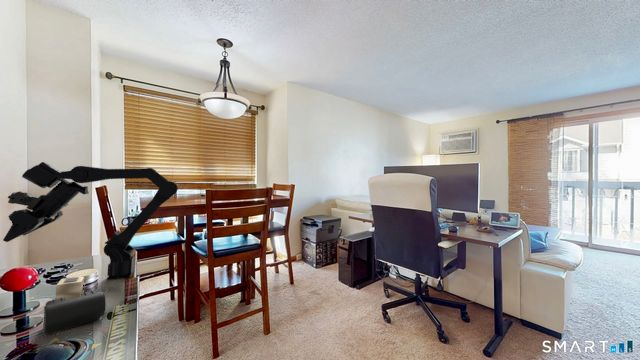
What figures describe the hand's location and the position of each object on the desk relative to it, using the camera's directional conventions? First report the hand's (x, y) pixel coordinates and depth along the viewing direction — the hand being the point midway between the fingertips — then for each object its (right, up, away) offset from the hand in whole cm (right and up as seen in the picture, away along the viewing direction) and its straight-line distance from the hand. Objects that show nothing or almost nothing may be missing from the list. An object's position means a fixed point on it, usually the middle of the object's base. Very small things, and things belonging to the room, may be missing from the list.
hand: (14, 237), depth 74 cm
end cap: (+35, -18, -16) cm, 42 cm away
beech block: (+21, -17, -3) cm, 27 cm away
